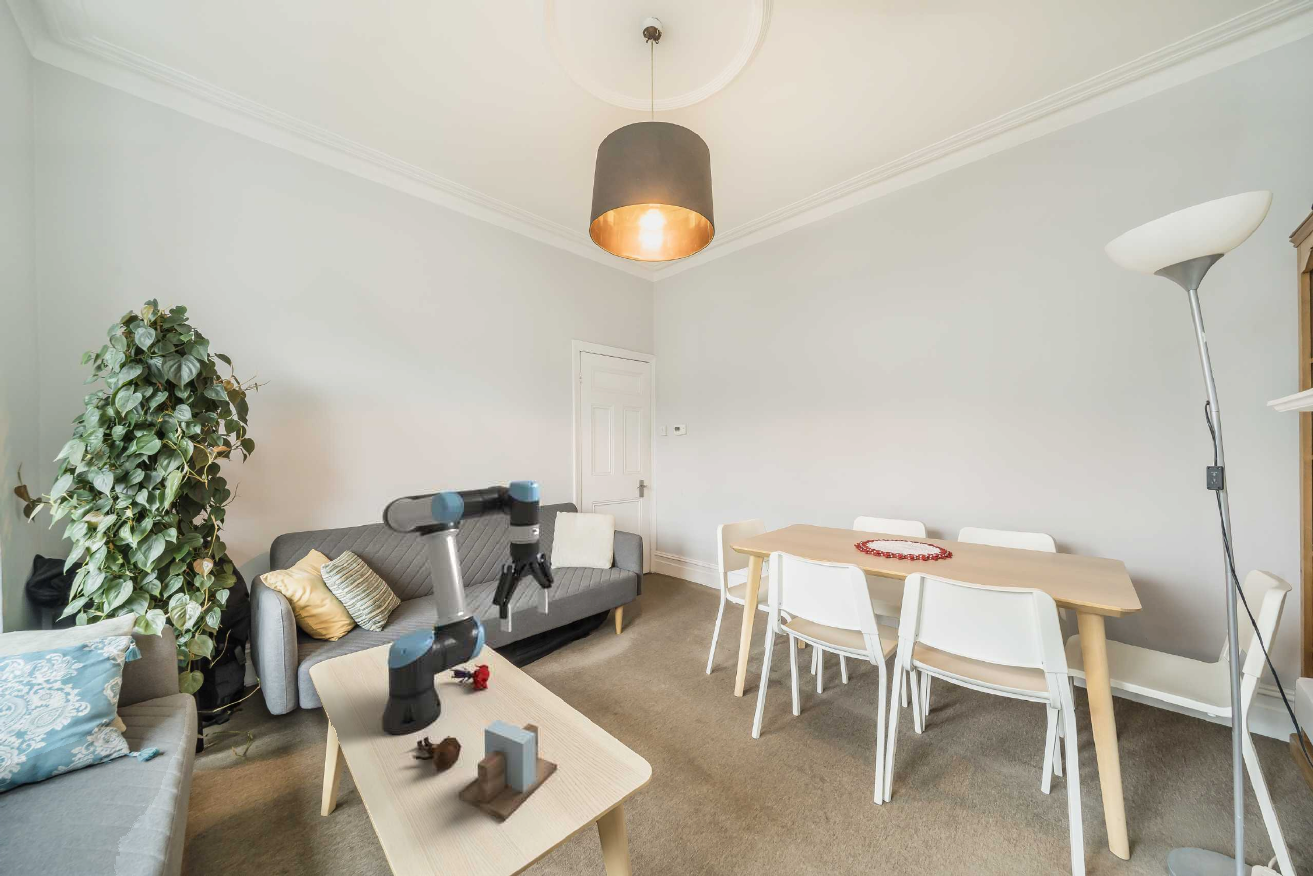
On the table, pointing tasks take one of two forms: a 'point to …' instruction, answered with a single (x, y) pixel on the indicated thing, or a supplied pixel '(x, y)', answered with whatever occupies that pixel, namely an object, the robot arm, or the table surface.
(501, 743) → the grey-blue slab
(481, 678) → the figurine
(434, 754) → the toy
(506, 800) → the walnut stand
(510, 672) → the table surface
